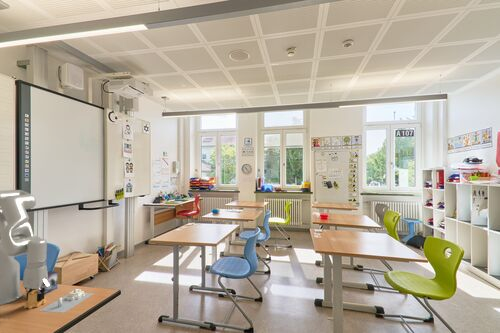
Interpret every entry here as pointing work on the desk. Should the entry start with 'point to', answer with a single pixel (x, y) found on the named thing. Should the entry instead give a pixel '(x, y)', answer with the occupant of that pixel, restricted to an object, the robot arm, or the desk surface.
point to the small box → (51, 282)
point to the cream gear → (75, 295)
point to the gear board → (65, 303)
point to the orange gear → (33, 300)
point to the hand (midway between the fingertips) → (35, 299)
